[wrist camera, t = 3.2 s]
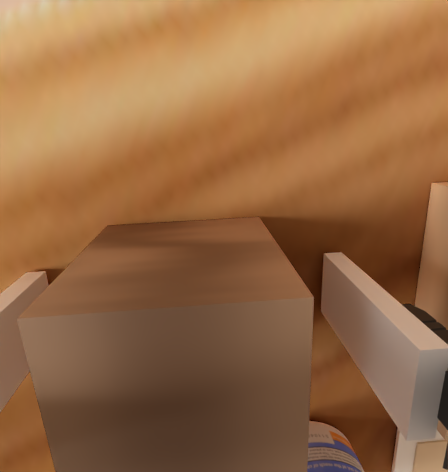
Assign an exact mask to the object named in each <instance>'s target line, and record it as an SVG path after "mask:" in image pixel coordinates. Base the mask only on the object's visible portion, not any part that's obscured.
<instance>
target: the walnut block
mask: <svg viewBox="0 0 448 472" xmlns="http://www.w3.org/2000/svg"><path fill="white" fill-rule="evenodd" d="M313 308H314V297H313V295H312V294H311V292H310V291H309V289H308V288H307V286H306V285H305V283H304V282H303V280H302V279H301V278H300V276H299V275H298V273H297V272H296V270H295V269H294V267H293V266H292V264H291V263H290V261H289V260H288V259H287V257H286V256H285V254H284V253H283V251H282V250H281V248H280V247H279V245H278V244H277V242H276V241H275V239H274V238H273V237H272V235H271V234H270V232H269V231H268V229H267V228H266V226H265V225H264V223H263V222H262V220H261V219H260V218H259V217H245V218H228V219H211V220H194V221H177V222H160V223H144V224H127V225H110V226H107V227H106V228H105V229H104V230H103V231H102V232H101V233H100V234H99V235H98V236H97V237H96V238H95V239H94V240H93V241H92V242H91V243H90V244H89V245H88V246H87V247H86V248H85V249H84V250H83V251H82V252H81V253H80V254H79V255H78V256H77V257H76V258H75V259H74V260H73V261H72V262H71V263H70V264H69V265H68V267H67V268H66V269H65V270H64V271H63V272H62V273H61V274H60V275H59V276H58V277H57V278H56V279H55V280H54V281H53V282H52V283H51V284H50V285H49V286H48V287H47V288H46V289H45V290H44V291H43V292H42V293H41V294H40V295H39V296H38V297H37V298H36V299H35V300H34V301H33V302H32V303H31V304H30V305H29V306H28V307H27V309H26V310H25V311H24V312H23V313H22V314H21V315H20V316H19V317H18V318H17V322H18V326H19V330H20V334H21V338H22V342H23V346H24V350H25V353H26V357H27V361H28V365H29V369H30V373H31V377H32V381H33V385H34V389H35V393H36V397H37V400H38V404H39V408H40V412H41V416H42V420H43V424H44V428H45V432H46V436H47V440H48V444H49V447H50V451H51V455H52V459H53V463H54V467H55V471H56V472H307V465H308V439H309V413H310V387H311V361H312V334H313Z"/></svg>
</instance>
